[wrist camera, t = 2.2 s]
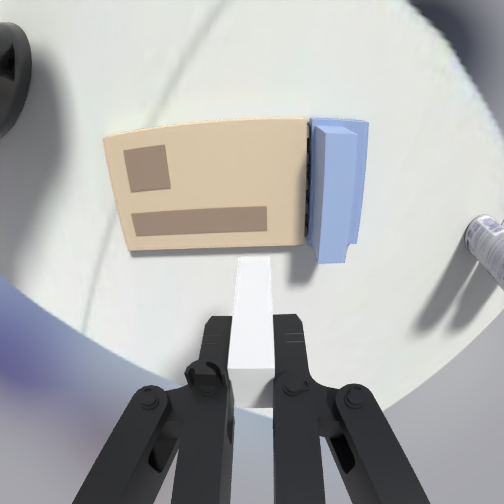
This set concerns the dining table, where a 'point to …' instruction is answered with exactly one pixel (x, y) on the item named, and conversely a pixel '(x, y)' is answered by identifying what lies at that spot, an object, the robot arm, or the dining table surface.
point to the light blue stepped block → (335, 185)
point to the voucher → (211, 183)
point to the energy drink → (487, 245)
